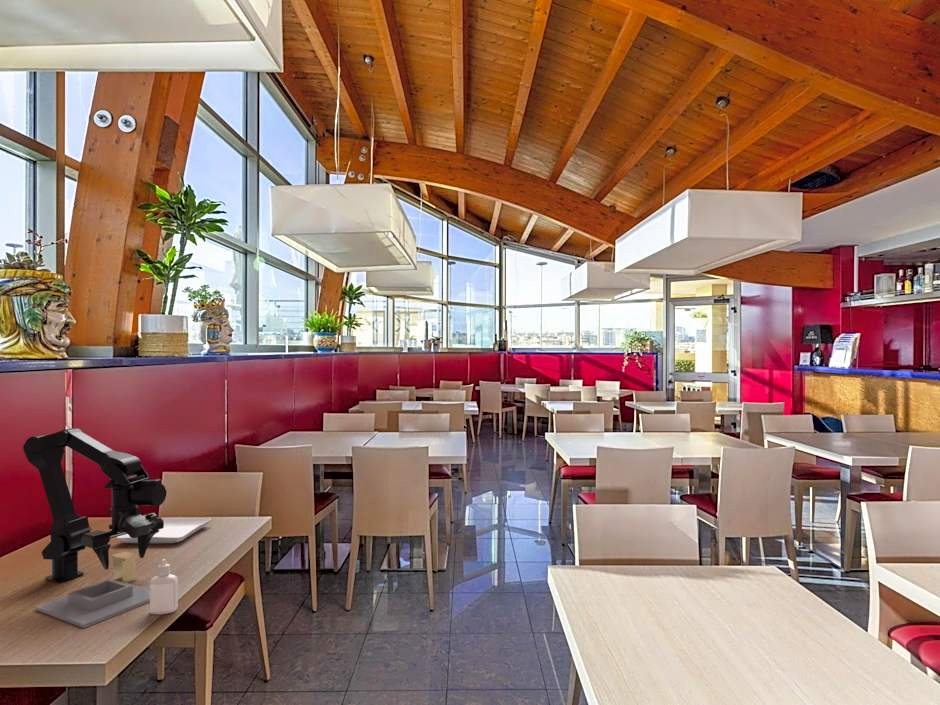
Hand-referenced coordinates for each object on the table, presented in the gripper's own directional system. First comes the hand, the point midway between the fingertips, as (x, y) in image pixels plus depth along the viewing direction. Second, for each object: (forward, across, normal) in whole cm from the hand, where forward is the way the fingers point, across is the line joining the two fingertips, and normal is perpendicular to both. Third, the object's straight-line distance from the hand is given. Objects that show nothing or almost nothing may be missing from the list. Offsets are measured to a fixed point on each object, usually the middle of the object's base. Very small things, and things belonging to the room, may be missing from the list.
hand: (124, 563), depth 147 cm
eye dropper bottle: (+5, -7, -27) cm, 28 cm away
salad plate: (+5, +29, +26) cm, 39 cm away
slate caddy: (+4, -11, -9) cm, 15 cm away
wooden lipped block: (+4, 0, 0) cm, 5 cm away
